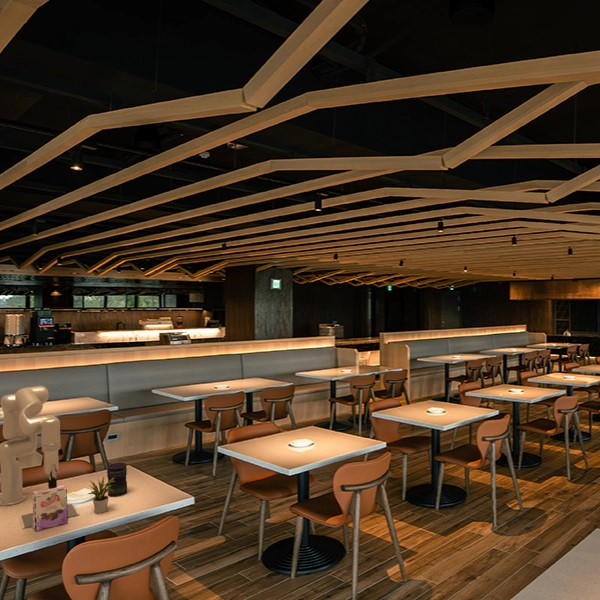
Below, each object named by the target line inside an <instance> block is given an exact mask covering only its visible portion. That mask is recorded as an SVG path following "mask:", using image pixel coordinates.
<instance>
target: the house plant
mask: <svg viewBox="0 0 600 600" xmlns="http://www.w3.org/2000/svg"><path fill="white" fill-rule="evenodd" d="M113 479H114V478H113ZM111 480H112V479H111ZM111 480H110V481H109V482H108V481H107V482H106V483H105V477H104V476H103V477H102V480H101V481H100V480H99V478H97V482H98V483H97V484H98V485H97V484H96V483H95V482H93V481H92V480H89V482H90V483H91V484H92V485H88V486H89V487H90V488H91V489H92V490H91V491H90V492H88V493H87V495H94V498H93V499H92V502H93V506H94V508H93V509H94V512H95V514H104V513H106V512H107V511H108V505H109V504H108V503H109V496H108V495H106V493H108V491H112V490H109V489H111V488H109V487H110V485H109V483H110V482H114V481H113V480H112V481H111ZM108 485H109V487H108ZM113 492H114V491H113Z"/></svg>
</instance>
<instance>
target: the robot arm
mask: <svg viewBox="0 0 600 600" xmlns="http://www.w3.org/2000/svg"><path fill="white" fill-rule="evenodd" d="M49 396H50V393H49V390H48V388H46V386H43V385H36V386H28V387H23V388H20V389H18V390H17V391H16V392H15V393H11V394H6V395H3V396H2V397H1V398H0V407H1V410H2V412H3V422H2V424H3V425H2V437H3V438H4V439H5V441H3V442H1V443H0V486H1V488H0V490H1V498H0V506H3V507H4V506H5V507H7V506H13V505H18V504H21V503H23V502H24V501H26V500H27V496H26V495H25V494H23V490H24V489H23V467H22V463H21V462H20V461H19V460H17V458H21V457H26V456H29V455H32V454H34V453H35V452H36V449H37V442H38V435H41V436H40V438H41V452H43V471H44V473H45V475H47V477H48V479H47V486H48V488H47V489H53V488H56V487H58V486H57V485H58V480H57V474H58V473H59V471H60V470H59V467H60V466H59V463H60V462H59V450H61V446H62V445H61V420H60V419H59V418H58V417H57V416H55V415H53V414H50V415H42V416H38V415H39V414H40V413H41V412H42V410H43V408H44V404H45V403H47V401H48V400H49Z"/></svg>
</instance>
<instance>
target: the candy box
mask: <svg viewBox="0 0 600 600" xmlns="http://www.w3.org/2000/svg"><path fill="white" fill-rule="evenodd" d="M31 496H32V513H33V527H32V528H33V531H34V532H39V531H43V530H47V529H50V528H54V527H58V526H61V525H67V524H69V518H68V509H67V505H68V488H67V486H66V485H64V484H63V485H59V486H57V487H56V488H53V489H49V488H45V489H41V490H36V491H32V495H31Z"/></svg>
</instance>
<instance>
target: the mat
mask: <svg viewBox="0 0 600 600" xmlns="http://www.w3.org/2000/svg"><path fill="white" fill-rule="evenodd" d="M67 509H68V519H71V518H75V517H79V516H80V512H79V511H78V509H77V506H76V505H75V503H74V502H73V503H69V504H67ZM18 518H19V522H20V525H21V528H22V530H25V529H30V528H33V512H31V513H30V512H29V513H26V514H23V515H22V514H20V515H18Z"/></svg>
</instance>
